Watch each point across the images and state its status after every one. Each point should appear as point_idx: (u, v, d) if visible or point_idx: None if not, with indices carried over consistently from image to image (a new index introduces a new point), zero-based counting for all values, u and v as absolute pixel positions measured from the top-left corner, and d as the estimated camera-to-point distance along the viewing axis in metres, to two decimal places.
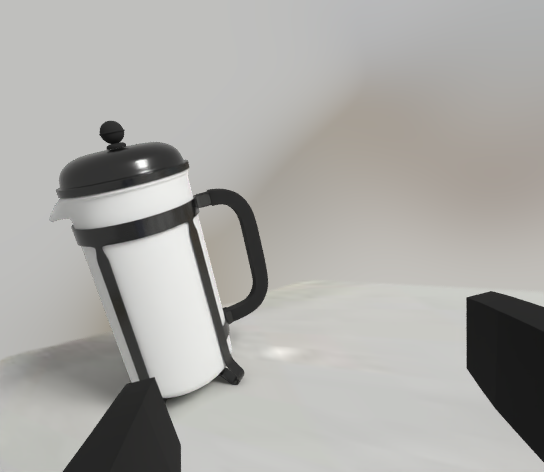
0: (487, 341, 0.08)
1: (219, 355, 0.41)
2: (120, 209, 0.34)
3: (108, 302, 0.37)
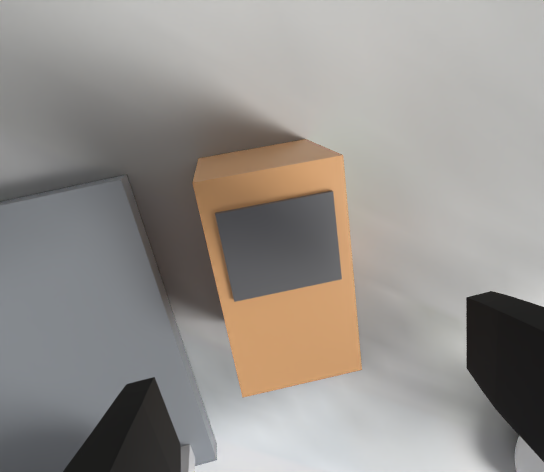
0: (487, 341, 0.08)
1: None
2: None
3: None
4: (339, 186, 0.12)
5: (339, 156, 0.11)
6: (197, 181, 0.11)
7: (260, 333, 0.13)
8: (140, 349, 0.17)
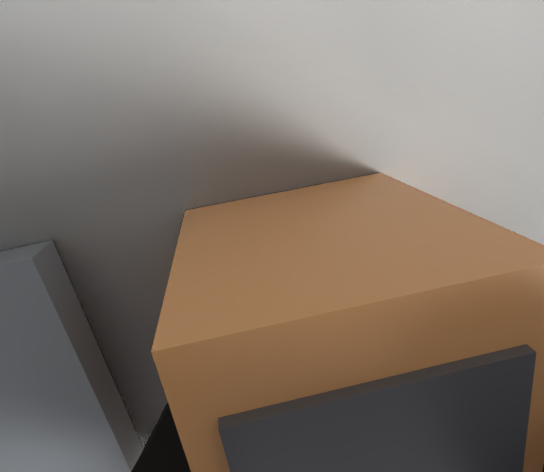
0: None
1: None
2: None
3: None
4: None
5: None
6: (166, 343, 0.04)
7: None
8: None
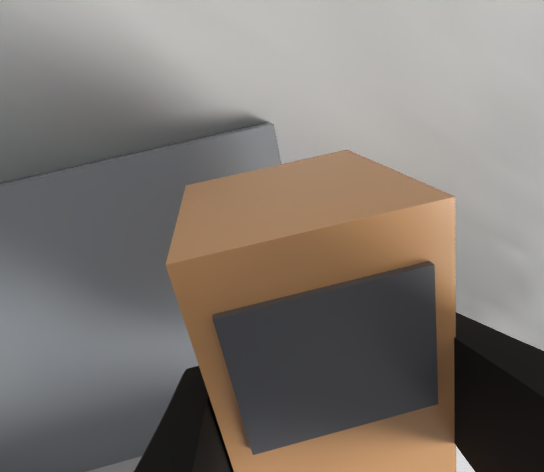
0: None
1: None
2: None
3: None
4: (443, 253, 0.06)
5: (447, 199, 0.06)
6: (175, 260, 0.06)
7: None
8: None
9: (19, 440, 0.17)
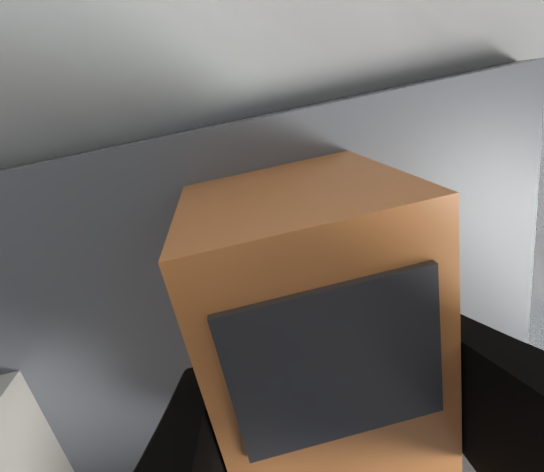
0: None
1: None
2: None
3: None
4: (447, 251, 0.06)
5: (451, 195, 0.06)
6: (168, 258, 0.05)
7: None
8: (487, 305, 0.13)
9: None
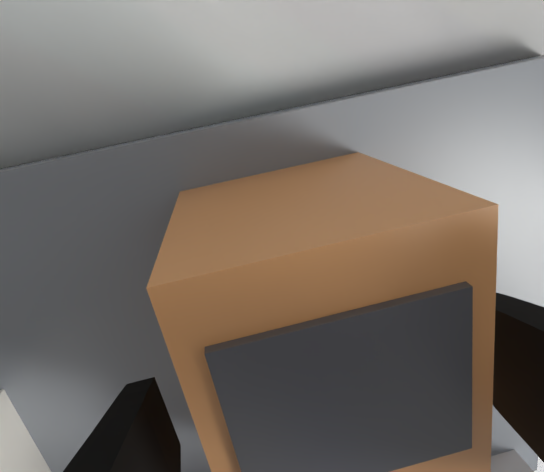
0: None
1: None
2: None
3: None
4: (482, 271, 0.05)
5: (489, 207, 0.05)
6: (159, 282, 0.05)
7: None
8: None
9: None
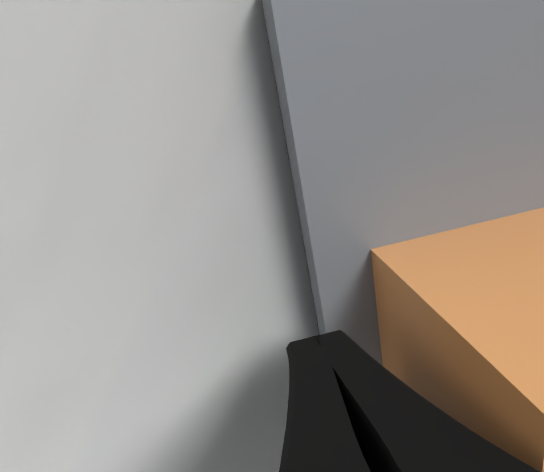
0: None
1: None
2: None
3: None
4: None
5: None
6: None
7: None
8: None
9: None
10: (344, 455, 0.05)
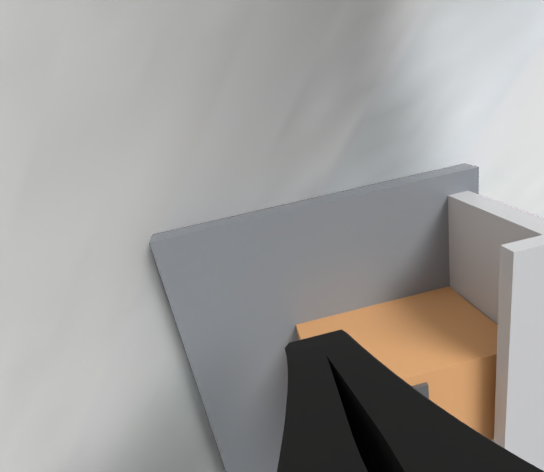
0: None
1: None
2: None
3: None
4: None
5: None
6: None
7: None
8: (322, 237, 0.17)
9: None
10: (342, 456, 0.05)
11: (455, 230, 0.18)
